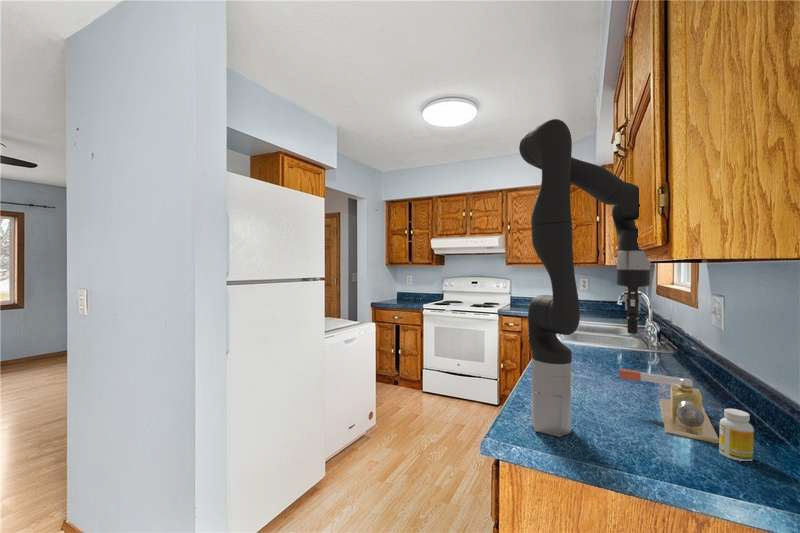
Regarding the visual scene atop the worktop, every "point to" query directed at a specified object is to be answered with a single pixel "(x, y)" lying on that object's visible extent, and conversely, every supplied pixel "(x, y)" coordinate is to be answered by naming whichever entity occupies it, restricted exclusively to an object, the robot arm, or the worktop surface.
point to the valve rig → (687, 415)
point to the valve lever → (655, 378)
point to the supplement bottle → (736, 435)
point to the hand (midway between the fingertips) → (632, 332)
